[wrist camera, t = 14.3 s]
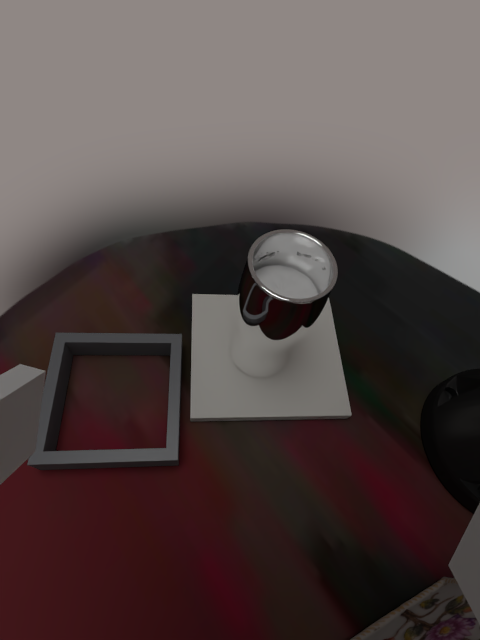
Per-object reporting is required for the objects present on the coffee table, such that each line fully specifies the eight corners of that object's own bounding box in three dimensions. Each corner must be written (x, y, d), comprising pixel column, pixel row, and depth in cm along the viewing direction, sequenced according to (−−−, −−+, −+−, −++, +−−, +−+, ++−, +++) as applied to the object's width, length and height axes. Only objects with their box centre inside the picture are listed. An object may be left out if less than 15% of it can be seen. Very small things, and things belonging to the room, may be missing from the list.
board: (325, 302, 45) (328, 297, 44) (347, 418, 38) (351, 415, 37) (192, 299, 43) (192, 294, 42) (190, 421, 36) (190, 418, 35)
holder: (182, 346, 40) (181, 334, 37) (178, 465, 34) (177, 460, 32) (64, 346, 39) (55, 332, 36) (40, 470, 33) (27, 464, 30)
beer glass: (212, 349, 39) (224, 258, 26) (257, 311, 42) (288, 213, 29) (260, 396, 37) (299, 323, 24) (304, 353, 40) (359, 268, 27)
